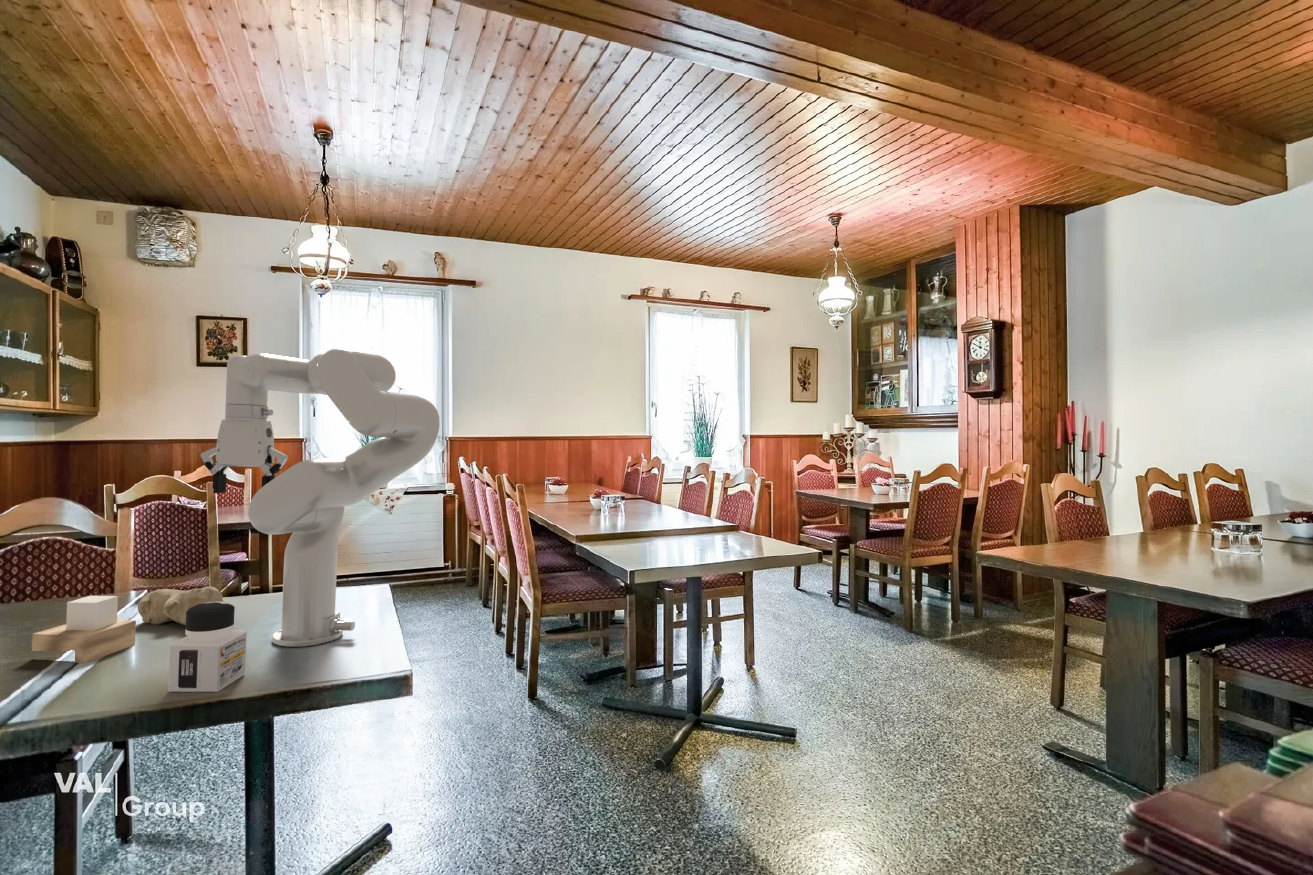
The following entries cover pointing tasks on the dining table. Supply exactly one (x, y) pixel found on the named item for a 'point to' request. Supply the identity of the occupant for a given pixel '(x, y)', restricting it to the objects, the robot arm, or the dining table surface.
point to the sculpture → (174, 603)
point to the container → (207, 650)
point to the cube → (91, 612)
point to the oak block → (87, 640)
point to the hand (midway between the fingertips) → (243, 493)
